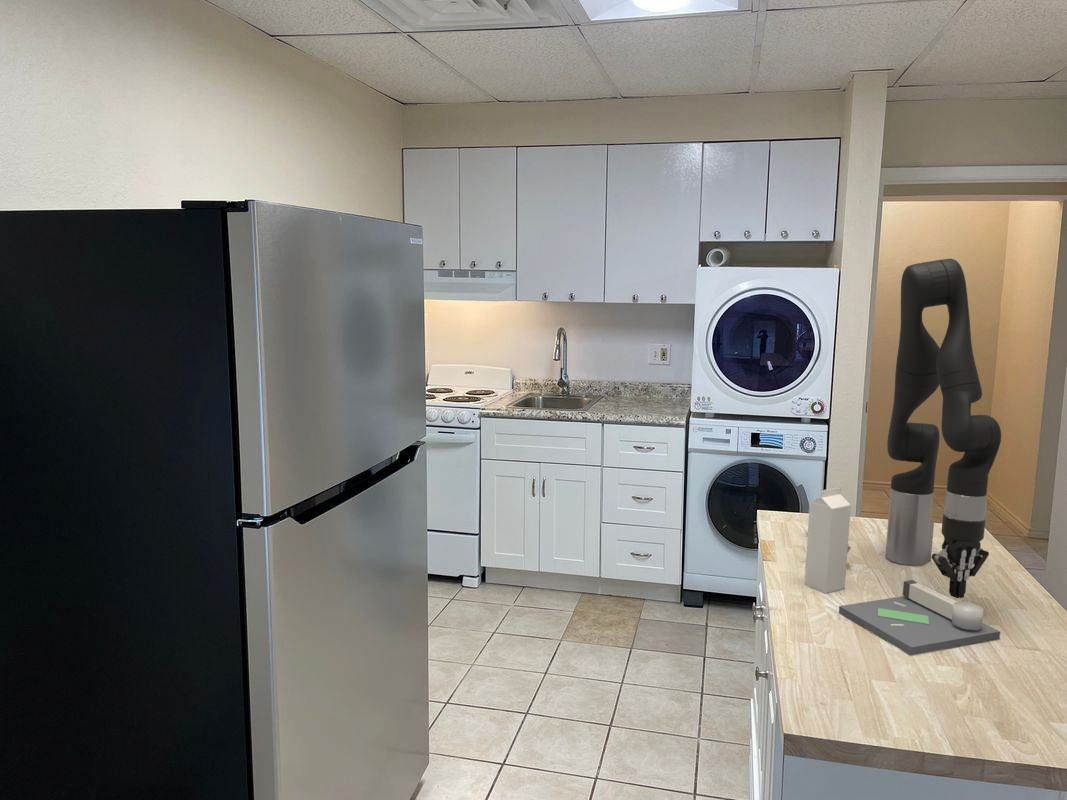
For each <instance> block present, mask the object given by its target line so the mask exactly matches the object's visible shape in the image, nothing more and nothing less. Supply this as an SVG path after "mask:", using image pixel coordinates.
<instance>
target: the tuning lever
mask: <svg viewBox="0 0 1067 800" xmlns="http://www.w3.org/2000/svg"><path fill="white" fill-rule="evenodd" d="M902 586H903V587H902V596H905V597H907V598H909V599H911V600H913V601H915V602H917V603H919V604H921V605H923V606H925V607H927V608H929V609H931V610H933V611H935V612H937V613H939V614H941V615H943V616H945V617H947V618H949V619H951V620H952V623H953V624H954V625H955V626H957V627H959V628H963V629H967V630H979V629H981V628H982V623H983V617H984V608H983V607H982V606H981V605H979V604H976V603H973V602H968V601H957V600H954V599H952V598H950V597H948V596H945V595H944V594H942V593H940V592H937V591H935V590H933V589H931V588H929V587H926V586H925V585H923V584H921V583H918V582H917V581H915V580H913V579H910V580H904V581H903V585H902Z"/></svg>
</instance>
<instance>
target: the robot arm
mask: <svg viewBox="0 0 1067 800" xmlns="http://www.w3.org/2000/svg"><path fill="white" fill-rule="evenodd" d="M965 277H966V276H965V273H964V270H963V267H962V266H961V264H960V263H959V262H958V261H957V260H956V259H954V258H944V259H943V258H942V259H937V260H929V261H925V262H918V263H914V264H910V265H907V266H906V267H905V268H904V270H903V273H902V276H901V280H900V281H901V282H900V328H899V329H900V331H899V341H898V347H897V348H898V350H897V355H896V356H897V357H896V364H895V365H896V366H895V375H894V378H895V379H894V391H893V392H894V395H893V406H892V413H891V417H890V422H889V427H888V428H889V430H888V433H887V434H888V435H887V443H886V445H887V454H888V456H889V457H890V458H891V460H895V461H898V462H899V461H902V462H907V463H910V462H911V463H920V465H919V466H917V467H916V468H914V469H911V470H908V471H906V472H900V473H896V474H895V475H893V476H892V477H891V482H890V493H889V504H888V505H889V507H888V519H887V527H886V528H887V530H886V544H885V553H884V555H885V558H886V559H887V560H889V561H891V562H894V563H896V564H899V565H907V566H922V565H926V564H927V563H928V562H931V560H933V563H934V564H935V566H936V567H937V569H938V571H939V573H940V574H941V575H942V576H944V577H947V578H949V585H948V586H949V587H948V588H949V589H948V592H949V595H950V596H951V597H953V598H955V599H962V598H964V597H965V593H966V590H967V581H968V580H969V578H970V577H976V575H977V573H978V572H979V571H980V569H981V568H982V566H983V565H984V563H985V561H986V560H987V559H988V557H989V556H990V553H989V551H987V550H984V549H983V548H982V547H981V542H982V541H983V540H984V538H985V527H986V521H987V520H986V518H987V509H988V508H987V507H988V503H987V494H988V493H987V492H988V482H989V474H990V471H991V469H992V467H993V464H994V463H995V460H996V456H997V454H998V451H999V449H1000V447H1001V446H1000V445H1001V442H1002V429H1001V427H1000V423H998V421H997V420H996V419H995V418H994V417H992V416H990V415H987V414H976V415H974V414H971V411H972V410H971V408H972V404H975V403H976V402H978V401H980V400H981V399H982V397H983V390H982V384H981V382H980V381H981V380H980V377H979V373H978V369H977V365H976V361H975V357H974V351H973V343H972V333H971V323H970V322H971V320H970V311H969V301H968V299H969V298H968V291H967V289H968V288H967V283H966V278H965ZM944 305H946V306H947V312H948V324H947V329H946V333H945V335H944V337H943V340H942V343H941V345H940V346H939V344H938V343H937V342H936V341H935V339H934V338H933V336H932V335H931V334H930V333H929V331H928V330H927V328H926V326H925V325H924V321H923V311H924V309H926V308H932V307H937V306H944ZM939 387H940V391H941V396H942V409H941V434H942V438H943V440H944V443H945V444H946V445H947V446H948V447H949V448H950V449H951V450H953V451H954V452H957V453H963V456H962V457H961V458H960V459H959V460H956V461H954V462H953V463H951V464H950V465H949V468H948V473H947V480H946V481H947V482H946V492H945V496H944V501H943V511H942V521H941V534H942V536H943V537H944V540H943V542H942V545H941V550H940V551H939V552H938V553H932V550H933V539H934V530H935V529H934V528H935V524H934V522H933V521H932V515H933V514H932V513H933V502H934V491H935V487H934V486H935V477H936V467H937V461H938V460H937V459H938V453H939V449H940V448H939V447H940V436H941V435H940V430H939V428H938V426H937V425H936V424H932V423H922V422H911V421H910V422H909V419H910V417H911V416H912V414H914V412H915V411H916V410H917V409H918V407H920V406H921V405H922V404H923V403H924V402H925V403H926V401H927V400H928V399H929V398H930V397H931V396H932V395H934V393H936V391H937V389H938V388H939Z"/></svg>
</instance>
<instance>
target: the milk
mask: <svg viewBox="0 0 1067 800" xmlns="http://www.w3.org/2000/svg"><path fill="white" fill-rule="evenodd" d="M851 506H852V504H850V503H849V502H848V501H847V499H846V498H845V497H844V496H843V495H842V494H841V487H834V488H829V489H823V490H821V492H820V497H818V498H816V499H814V500H811V501H809V508H808V527H807V538H806V539H807V540H806V541H807V542H806V556H805V569H804V570H805V574H804V585H805V586H808V587H810V588H811V589H814V590H817V591H819V592H822V593H823V594H829V593H833V592H837V591H841V590H844V589H845V588H846V577H847V575H846V574H847V561H848V553H847V550H848V546H849V545H848V544H849V535H850V533H849V532H850V523H851V522H850V521H851V520H850V518H851V508H852V507H851Z"/></svg>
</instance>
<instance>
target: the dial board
mask: <svg viewBox="0 0 1067 800" xmlns="http://www.w3.org/2000/svg"><path fill="white" fill-rule="evenodd" d="M838 614H839V615H841V616H843V617H845V619H849V620H850V621H852V622H853V623H855V624H856V625H859V626H861V627H862V628H864V629H865V630H867V631H869V632H870V633H872V634H874V635H875V636H877V637H879V638H881V639H882V640H885V642H887V643H889V644H891V645H893V646H894V647H896V648H898V649H899V650H901V651H903V652H904V653H906V654H908V655H910V656H914V655H919V654H926V653H930V652H935V651H941V650H948V649H952V648H958V647H962V646H967V645H968V646H969V645H973V644H980V643H984V642H985V643H986V642H989V641H990V642H991V641H996V640H1000V638H1001V630H998V629H996V628H994V627H992V626H990V625H988V624H986V623H984V622H982V628H981V629H979V630H967V629H963V628H959V627H957V626H955V625H954V624H953V623H952V620H951V619H949V618H947V617H945V616H943V615H941V614H939V613H937V612H935V611H933V610H931V609H929V608H927V607H925V606H923V605H921V604H919V603H917V602H915V601H913V600H911V599H909V598H907V597H905V596H903V595H902V596H896V597H888V598H882V599H877V600H876V599H875V600H871V601H870V600H869V601H864V602H863V601H862V602H856V603H851V604H844V605H839V607H838Z"/></svg>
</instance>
